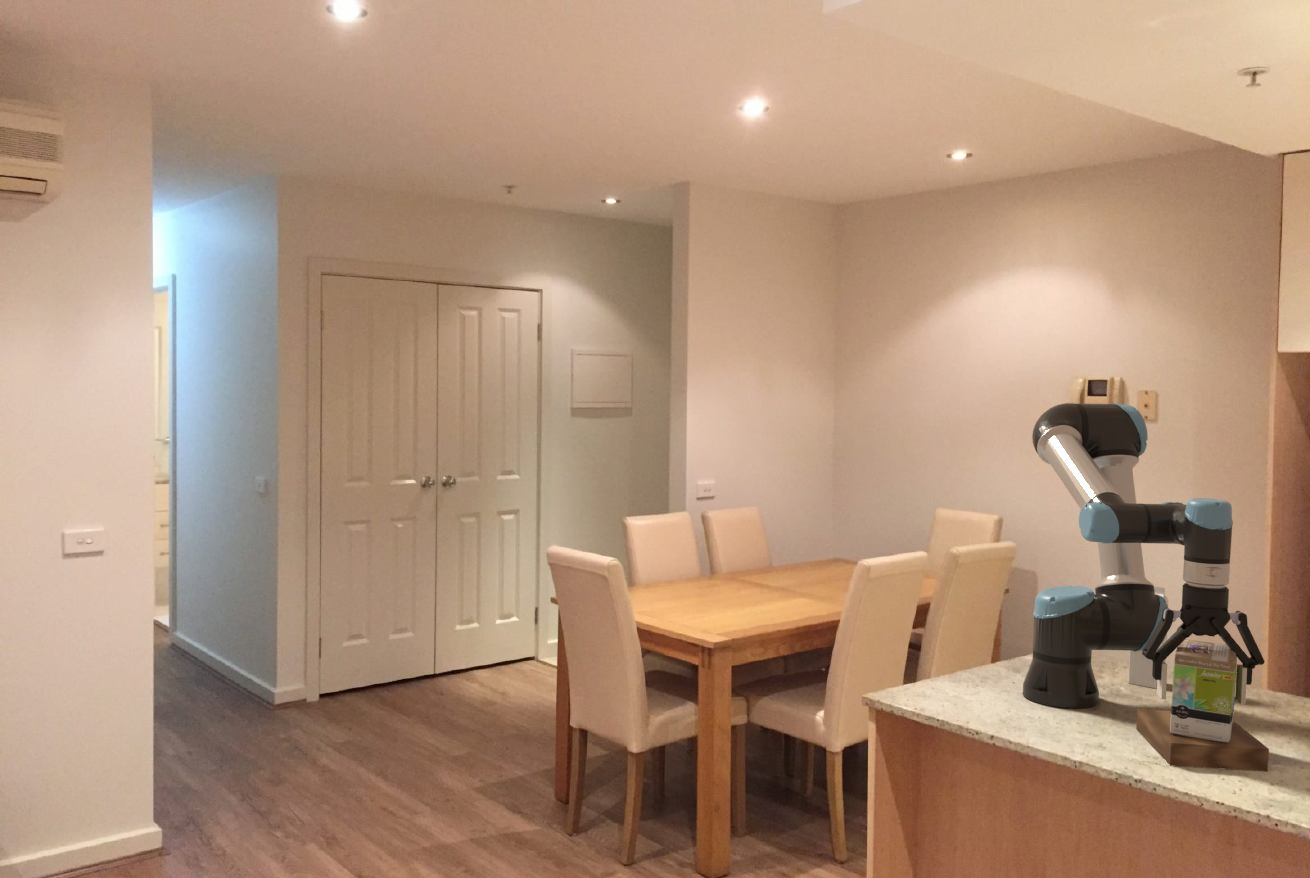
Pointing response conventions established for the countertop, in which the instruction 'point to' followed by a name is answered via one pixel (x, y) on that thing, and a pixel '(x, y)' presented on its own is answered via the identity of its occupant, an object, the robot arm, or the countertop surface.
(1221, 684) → the tea box
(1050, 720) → the countertop surface
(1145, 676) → the milk
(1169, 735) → the walnut plinth
